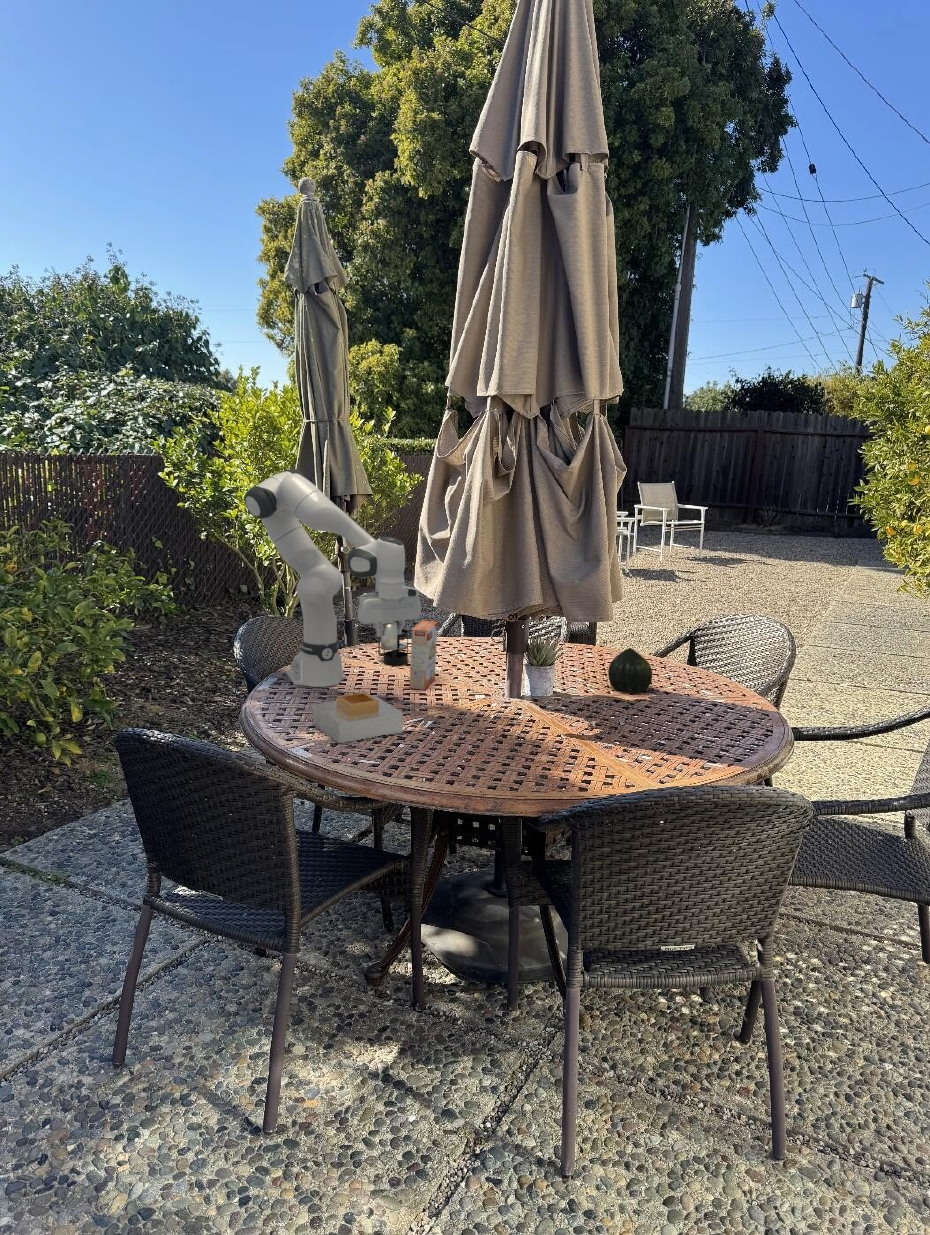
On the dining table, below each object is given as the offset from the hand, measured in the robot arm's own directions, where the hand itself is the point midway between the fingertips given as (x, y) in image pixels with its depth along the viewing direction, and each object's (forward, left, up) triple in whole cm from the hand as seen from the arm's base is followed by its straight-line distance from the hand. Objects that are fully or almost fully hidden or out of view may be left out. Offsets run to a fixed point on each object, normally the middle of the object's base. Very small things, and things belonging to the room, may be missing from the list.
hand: (389, 635), depth 266 cm
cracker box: (-16, +22, -23) cm, 36 cm away
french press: (-44, +26, -23) cm, 56 cm away
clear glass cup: (0, 0, -4) cm, 4 cm away
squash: (+20, +83, -23) cm, 89 cm away
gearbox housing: (+13, -17, -23) cm, 31 cm away
